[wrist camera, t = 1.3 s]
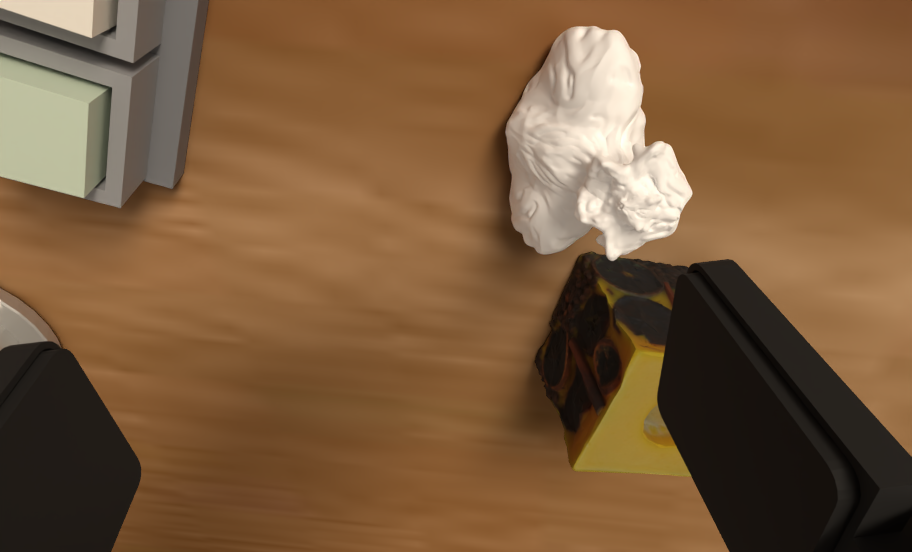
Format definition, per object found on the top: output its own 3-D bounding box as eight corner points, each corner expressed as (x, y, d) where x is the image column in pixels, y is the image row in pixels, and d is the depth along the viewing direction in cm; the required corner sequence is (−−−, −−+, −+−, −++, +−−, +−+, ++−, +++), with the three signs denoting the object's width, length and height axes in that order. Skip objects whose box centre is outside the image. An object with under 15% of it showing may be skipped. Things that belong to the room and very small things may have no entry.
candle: (531, 360, 43) (565, 474, 35) (578, 246, 37) (631, 348, 29) (654, 374, 45) (713, 484, 37) (715, 268, 40) (800, 369, 31)
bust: (528, 203, 38) (679, 295, 32) (445, 226, 33) (605, 339, 27) (588, 8, 31) (792, 76, 25) (495, -1, 26) (722, 82, 20)
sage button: (112, 168, 27) (84, 198, 25) (6, 139, 26) (-35, 167, 24) (118, 81, 25) (88, 103, 23) (4, 44, 24) (-42, 63, 22)
